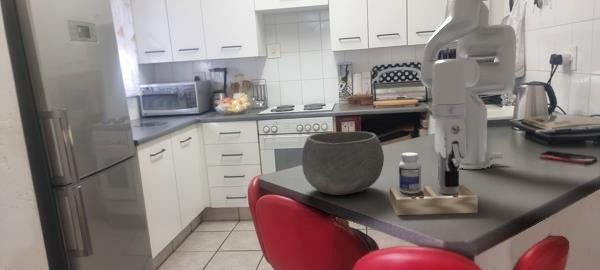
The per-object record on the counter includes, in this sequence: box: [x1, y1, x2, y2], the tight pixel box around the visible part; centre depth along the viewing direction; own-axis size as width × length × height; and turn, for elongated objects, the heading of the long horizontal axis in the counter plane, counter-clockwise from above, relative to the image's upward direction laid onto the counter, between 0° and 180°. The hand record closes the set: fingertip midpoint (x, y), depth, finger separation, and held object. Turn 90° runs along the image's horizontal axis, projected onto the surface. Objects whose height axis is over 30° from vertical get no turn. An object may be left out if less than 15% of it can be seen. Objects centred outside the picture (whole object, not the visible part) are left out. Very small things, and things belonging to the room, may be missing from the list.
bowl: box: [301, 131, 385, 196], centre depth 103 cm, size 21×21×15 cm
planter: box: [438, 152, 458, 196], centre depth 99 cm, size 4×4×10 cm
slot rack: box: [389, 184, 479, 216], centre depth 90 cm, size 17×9×4 cm, turn 87°
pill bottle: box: [398, 152, 422, 195], centre depth 102 cm, size 5×5×10 cm
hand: (448, 182), depth 100 cm, fingers closed on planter, 4 cm apart
